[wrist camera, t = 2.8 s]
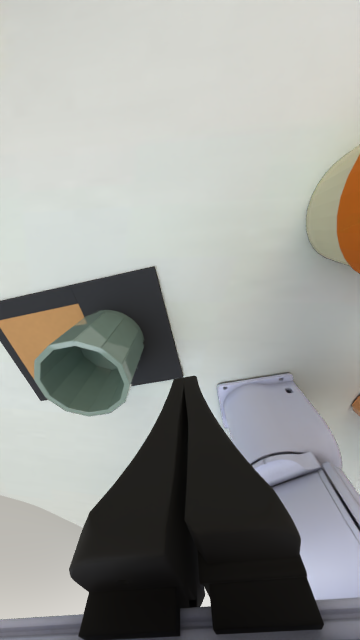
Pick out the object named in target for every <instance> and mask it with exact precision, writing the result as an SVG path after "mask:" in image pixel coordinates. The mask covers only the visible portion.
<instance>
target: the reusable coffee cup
mask: <svg viewBox="0 0 360 640" xmlns="http://www.w3.org/2000/svg"><path fill="white" fill-rule="evenodd" d="M306 230H307V234H308V238H309V241H310V243H311V245H312V246H313V248H314V249H315V250H316V251H317V252H318V253H319V254H320V255H322V256H323V257H325V258H328V259H331V260H334V261H337V262H340V263H343V264H346V265H349V266H351V267H352V268H353V269H354V270H355V271H356V272H358V273H359V274H360V145H359V146H357V147H356V148H355V149H353V150H352V151H350V152H349V153H348V154H346V155H345V156H344V157H342V158H341V159H340V160H339V161H337V162H336V163H335V164H334V165H333V166H332V167H331V168H330V169H329V170H328V171H327V172H326V174H325V175H324V176H323V178H322V179H321V181H320V182H319V183H318V185H317V187H316V189H315V191H314V193H313V195H312V197H311V200H310V203H309V206H308V210H307V217H306Z"/></svg>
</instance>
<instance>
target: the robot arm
mask: <svg viewBox="0 0 360 640" xmlns="http://www.w3.org/2000/svg"><path fill="white" fill-rule="evenodd" d="M280 378H281V379H280ZM224 387H225V388H224ZM217 391H218V396H219V402H220V407H221V413H222V419H223V424H224V427H225V428H229V431H230V436H231V440H232V441H231V440H230V439H229V437H228V436H227V435H226V433H225V432H224V430H223V429H222V428H221V426H220V425H219V423H218V422H217V420H216V418H215V417H214V415H213V414H212V412H211V410H210V408H209V407H208V405H207V403H206V401H205V399H204V397H203V395H202V393H201V390H200V388H199V385H198V381H197V377H196V376H190V377H185V378H178V379H174V381H173V383H172V386H171V389H170V392H169V395H168V397H167V400H166V402H165V404H164V406H163V409H162V411H161V413H160V415H159V417H158V419H157V421H156V423H155V425H154V427H153V428H152V430H151V432H150V434H149V435H148V437H147V439H146V440H145V442H144V444H143V445H142V447H141V448H140V450H139V451H138V453H137V454H136V456H135V457H134V459H133V460H132V461H131V463H130V464H129V465H128V467H127V468H126V469H125V471H124V472H123V473H122V475H121V476H120V477H119V478H118V480H117V481H116V482H115V484H114V485H113V486H112V487H111V488H110V490H109V491H108V492H107V493H106V494H105V495H104V497H103V498H102V499H101V500H100V501H99V502H98V503H97V505H96V506H95V507H94V508H93V509H92V510H91V511H90V513H89V515H88V518H87V520H86V523H85V525H84V527H83V530H82V533H81V535H80V539H79V541H78V544H77V548H76V550H75V553H74V556H73V560H72V562H71V565H70V568H69V571H70V575H71V578H72V579H73V580H74V581H75V582H77V583H78V584H79V585H80V586H82V587H83V588H84V589H86V590H87V591H88V592H89V596H88V599H87V603H86V607H85V611H84V614H83V615H68V616H49V617H33V618H18V619H3V620H2V619H1V620H0V640H360V495H359V494H358V492H357V491H356V489H355V488H354V487H353V485H352V484H351V482H350V481H349V479H348V478H347V477H346V475H345V474H344V472H343V471H342V470H341V468H342V459H341V454H340V450H339V447H338V444H337V442H336V440H335V438H334V436H333V434H332V432H331V430H330V428H329V427H328V425H327V424H326V422H325V421H324V419H323V418H322V417H321V416H320V414H319V413H318V412H317V411H316V409H315V408H314V407H313V405H312V404H311V403H310V402H309V400H308V399H307V398H306V397H305V395H304V394H303V393H302V392H301V390H300V389H299V388H298V387H297V385H296V384H295V383H294V382H293V375H292V374H290V373H286V374H280V375H274V376H267V377H261V378H255V379H248V380H242V381H236V382H229V383H223V384H219V385H218V386H217ZM204 587H205V589H206V591H207V593H208V595H209V597H210V601H211V607H200V606H201V604H202V602H203V599H204V597H205V591H204Z"/></svg>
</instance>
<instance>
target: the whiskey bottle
mask: <svg viewBox="0 0 360 640" xmlns="http://www.w3.org/2000/svg"><path fill="white" fill-rule="evenodd" d="M352 407H353V410H354V411H355V412H356V413H357V414H358V415H359V416H360V396H359V397H358V398H357V399H356V400H355V402H354V403H353V404H352Z"/></svg>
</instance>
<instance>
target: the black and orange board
mask: <svg viewBox="0 0 360 640" xmlns="http://www.w3.org/2000/svg"><path fill="white" fill-rule="evenodd" d="M100 310H113V311H118V312H121V313H123V314H125V315H127V316H129V317H130V318H131V319H133V320H134V321H135V322H136V323H137V325H138V326H139V327H140V329H141V331H142V333H143V336H144V342H145V343H144V350H143V353H142V356H141V359H140V362H139V365H138V368H137V371H136V374H135V376H134V379H133V382H132V385H131V386H135V385H141V384H147V383H153V382H159V381H165V380H171V379H177V378H183V374H182V370H181V366H180V362H179V359H178V355H177V351H176V347H175V343H174V339H173V336H172V332H171V328H170V324H169V320H168V316H167V313H166V309H165V305H164V301H163V297H162V293H161V290H160V286H159V282H158V278H157V274H156V270H155V267H149V268H145V269H141V270H136V271H132V272H127V273H123V274H118V275H114V276H109V277H105V278H101V279H96V280H92V281H87V282H83V283H78V284H74V285H69V286H65V287H60V288H56V289H52V290H47V291H43V292H38V293H34V294H29V295H25V296H20V297H16V298H12V299H7V300H3V301H0V341H1V343H2V344H3V346H4V347H5V349H6V350H7V352H8V353H9V355H10V356H11V358H12V359H13V361H14V362H15V363H16V365H17V366H18V368H19V369H20V371H21V372H22V374H23V375H24V377H25V378H26V380H27V381H28V383H29V384H30V386H31V387H32V389H33V390H34V392H35V393H36V395H37V396H38V398H39V399H40V401H43V400H48V399H47V398H46V397H45V396H44V394H43V393H42V391H41V390H40V388H39V387H38V385H37V384H36V382H35V380H34V361H35V359H36V358H37V357H38V356H39V355H40V354H41V353H42V352H43V350H44V349H45V348H46V347H47V346H48V345H49V344H51V343H52V342H53V341H55V340H56V339H57V338H59V337H60V336H61V335H62V334H64V333H65V332H66V331H68V330H69V329H70V328H71V327H73V326H74V325H75V324H77V323H78V322H79V321H80V320H82V319H83V318H84V317H86V316H88V315H90V314H91V313H94V312H96V311H100Z"/></svg>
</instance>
